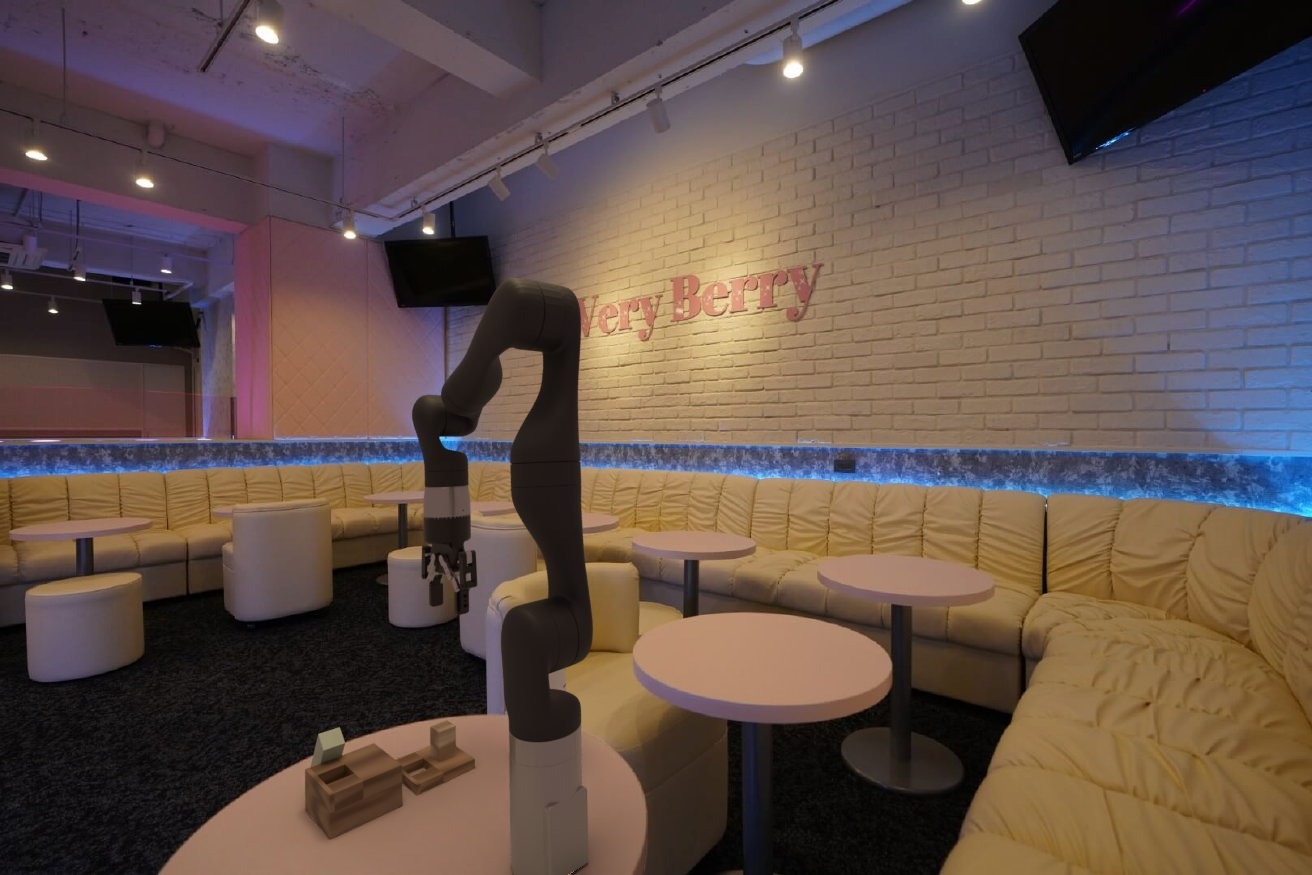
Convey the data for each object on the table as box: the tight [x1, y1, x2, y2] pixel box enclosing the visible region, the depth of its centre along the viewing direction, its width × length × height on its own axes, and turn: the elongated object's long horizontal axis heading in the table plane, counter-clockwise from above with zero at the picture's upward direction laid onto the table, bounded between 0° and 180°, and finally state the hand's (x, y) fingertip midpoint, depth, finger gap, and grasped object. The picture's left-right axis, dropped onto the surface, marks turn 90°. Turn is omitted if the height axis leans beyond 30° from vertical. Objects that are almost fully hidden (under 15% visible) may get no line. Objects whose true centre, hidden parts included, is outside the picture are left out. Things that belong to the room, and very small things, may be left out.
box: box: [304, 743, 404, 840], centre depth 87 cm, size 10×10×6 cm
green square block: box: [310, 726, 346, 767], centre depth 91 cm, size 3×3×10 cm
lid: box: [395, 719, 476, 796], centre depth 97 cm, size 10×10×6 cm
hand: (448, 609), depth 98 cm, fingers open, 8 cm apart
